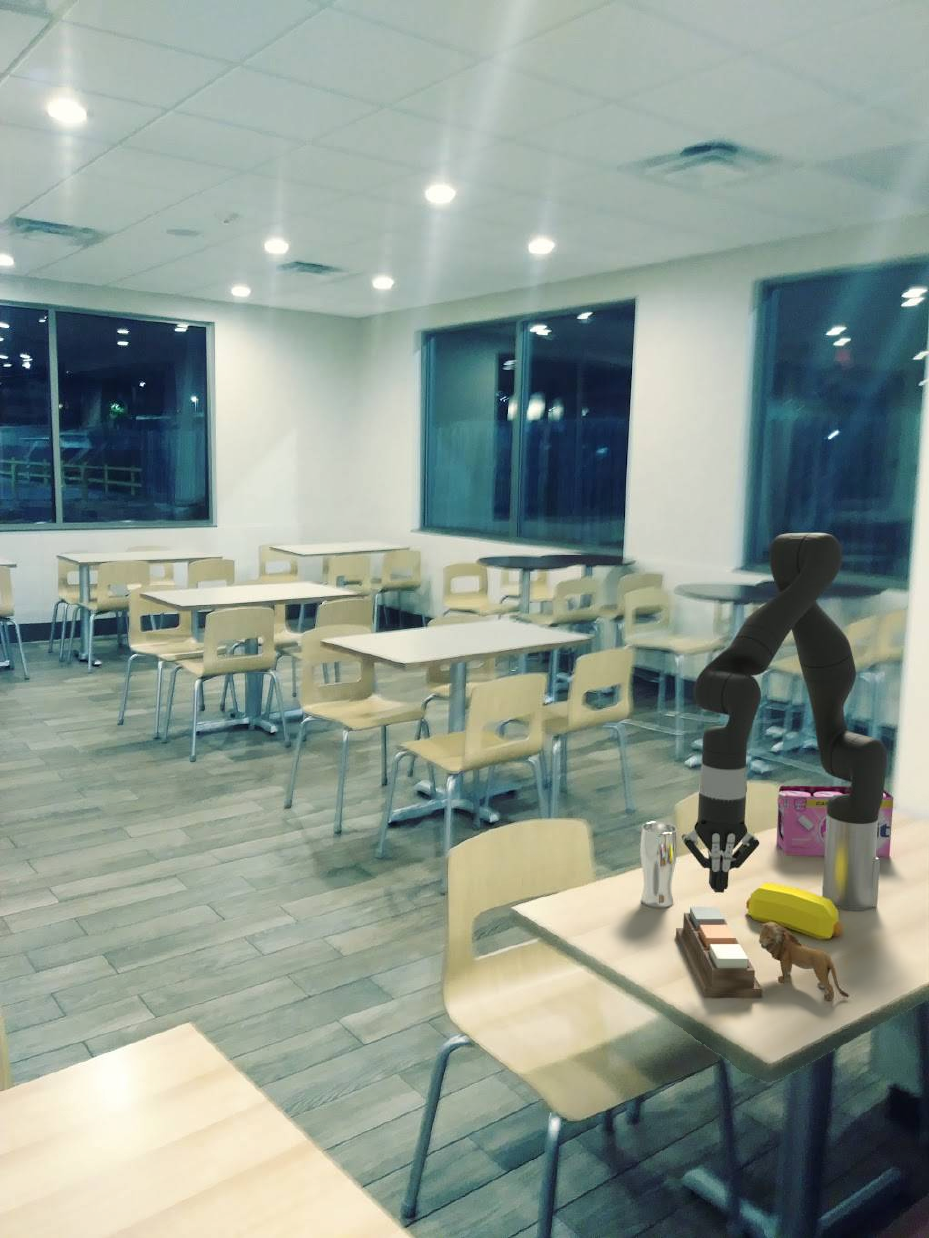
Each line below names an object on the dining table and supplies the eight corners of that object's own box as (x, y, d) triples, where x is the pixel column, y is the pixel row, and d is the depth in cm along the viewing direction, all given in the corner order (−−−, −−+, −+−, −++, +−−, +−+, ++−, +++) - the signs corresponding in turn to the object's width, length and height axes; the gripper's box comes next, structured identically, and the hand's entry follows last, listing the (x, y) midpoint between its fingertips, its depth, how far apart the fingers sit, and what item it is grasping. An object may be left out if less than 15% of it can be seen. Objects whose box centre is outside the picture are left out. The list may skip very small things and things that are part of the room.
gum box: (780, 856, 211) (782, 796, 209) (769, 842, 219) (772, 784, 217) (890, 857, 211) (894, 796, 209) (876, 843, 219) (879, 785, 217)
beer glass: (673, 894, 192) (675, 821, 189) (677, 909, 185) (679, 834, 183) (637, 893, 192) (639, 820, 190) (640, 908, 185) (642, 833, 183)
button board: (726, 935, 174) (726, 912, 173) (761, 997, 153) (762, 970, 153) (676, 935, 174) (676, 912, 173) (704, 997, 153) (705, 970, 153)
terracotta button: (727, 940, 166) (727, 924, 165) (734, 953, 161) (735, 937, 160) (699, 940, 166) (699, 924, 165) (706, 953, 161) (706, 937, 160)
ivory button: (738, 960, 159) (739, 944, 158) (747, 975, 154) (747, 958, 154) (709, 960, 159) (710, 944, 158) (717, 975, 154) (717, 958, 154)
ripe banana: (754, 905, 187) (737, 918, 181) (755, 872, 186) (738, 884, 180) (849, 932, 176) (834, 948, 170) (851, 897, 175) (836, 911, 169)
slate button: (716, 921, 173) (717, 906, 172) (723, 934, 168) (724, 918, 167) (689, 921, 173) (690, 906, 172) (696, 934, 168) (696, 918, 167)
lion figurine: (752, 976, 160) (754, 925, 159) (764, 964, 164) (767, 914, 163) (843, 1006, 151) (846, 952, 149) (854, 992, 155) (857, 939, 154)
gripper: (755, 784, 163) (750, 882, 166) (677, 783, 163) (673, 881, 166) (769, 798, 156) (764, 900, 158) (687, 797, 156) (683, 899, 158)
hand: (717, 890), depth 162 cm, fingers closed
